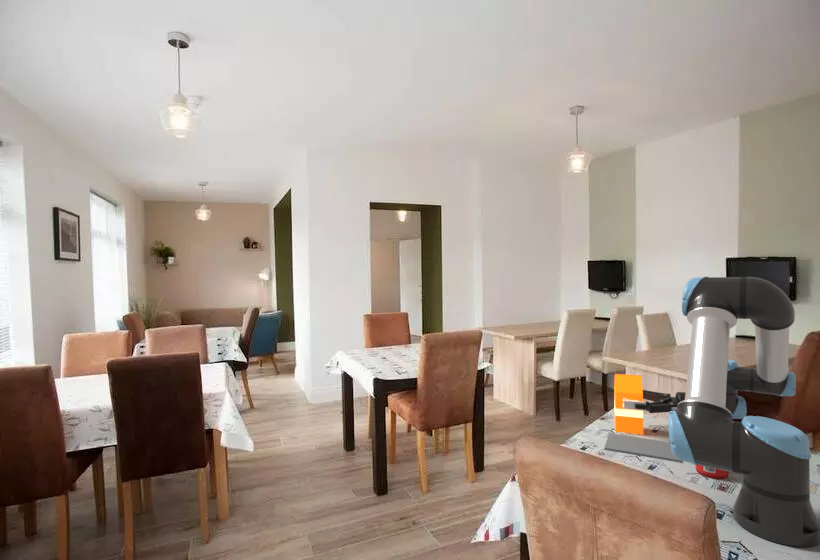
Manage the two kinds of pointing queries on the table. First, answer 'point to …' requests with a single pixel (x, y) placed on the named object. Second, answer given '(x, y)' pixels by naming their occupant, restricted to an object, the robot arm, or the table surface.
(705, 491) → the table surface
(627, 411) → the orange juice
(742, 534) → the table surface
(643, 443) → the mat
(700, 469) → the canned food
